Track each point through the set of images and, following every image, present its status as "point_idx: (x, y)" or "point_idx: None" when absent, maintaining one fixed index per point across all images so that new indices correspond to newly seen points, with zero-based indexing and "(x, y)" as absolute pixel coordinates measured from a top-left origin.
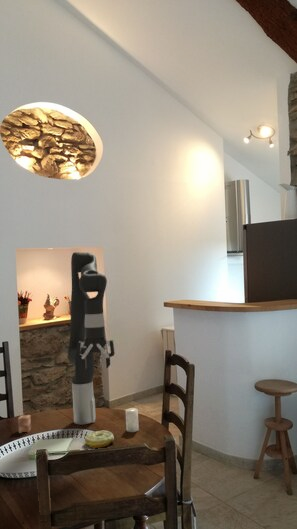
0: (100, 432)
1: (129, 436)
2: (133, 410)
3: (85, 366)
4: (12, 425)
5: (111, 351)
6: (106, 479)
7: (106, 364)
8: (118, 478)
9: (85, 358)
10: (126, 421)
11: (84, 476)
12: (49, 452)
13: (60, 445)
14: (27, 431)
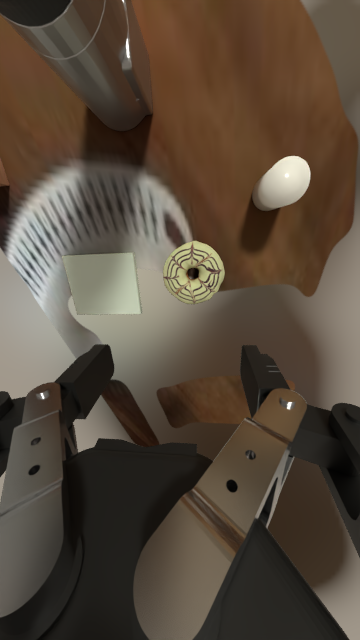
0: (193, 263)
1: (258, 241)
2: (294, 187)
3: (107, 381)
4: None
5: (347, 504)
6: (220, 394)
7: (246, 390)
8: (235, 394)
9: (72, 396)
10: (259, 198)
11: (189, 384)
12: (112, 313)
13: (121, 290)
14: (5, 185)
